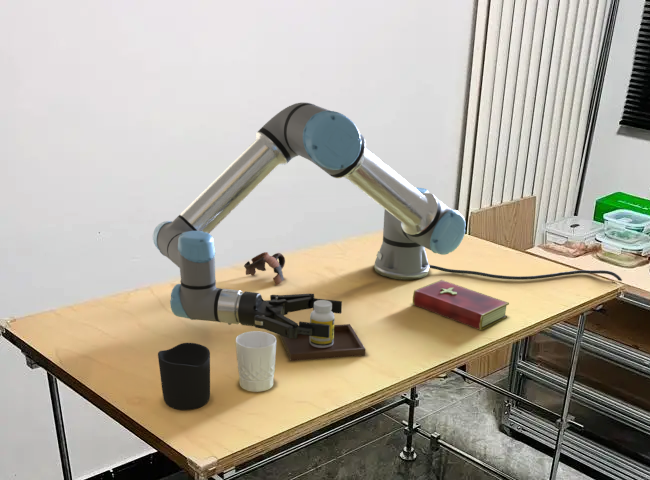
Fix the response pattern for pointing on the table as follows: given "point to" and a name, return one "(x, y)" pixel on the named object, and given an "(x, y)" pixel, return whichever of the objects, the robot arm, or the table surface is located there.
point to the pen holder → (185, 376)
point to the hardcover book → (460, 304)
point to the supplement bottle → (322, 316)
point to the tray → (342, 347)
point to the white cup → (256, 360)
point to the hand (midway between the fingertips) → (335, 319)
